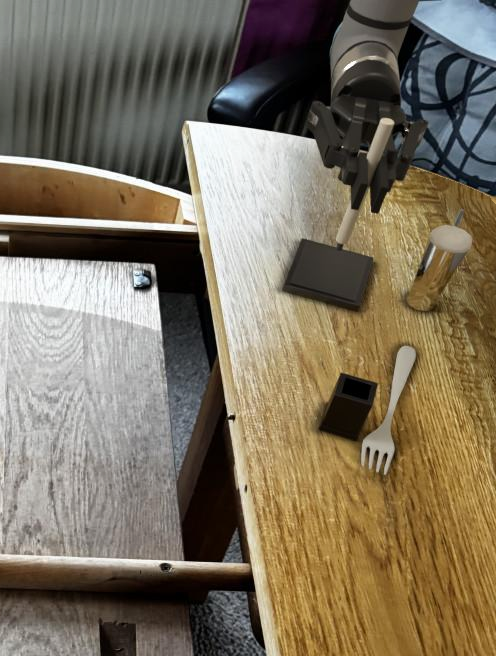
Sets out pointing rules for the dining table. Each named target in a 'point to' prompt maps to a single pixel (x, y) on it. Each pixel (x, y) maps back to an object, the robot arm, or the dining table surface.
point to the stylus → (372, 162)
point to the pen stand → (348, 406)
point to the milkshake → (438, 264)
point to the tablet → (328, 274)
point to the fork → (389, 412)
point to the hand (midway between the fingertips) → (369, 198)
